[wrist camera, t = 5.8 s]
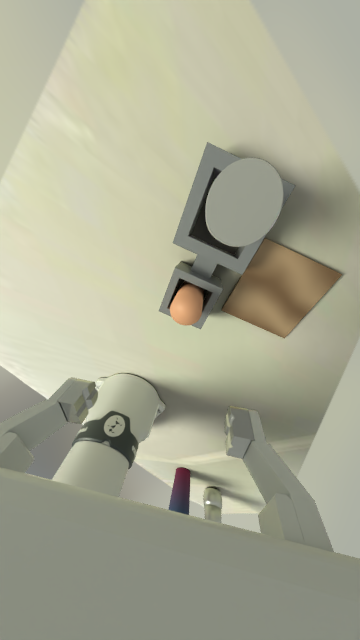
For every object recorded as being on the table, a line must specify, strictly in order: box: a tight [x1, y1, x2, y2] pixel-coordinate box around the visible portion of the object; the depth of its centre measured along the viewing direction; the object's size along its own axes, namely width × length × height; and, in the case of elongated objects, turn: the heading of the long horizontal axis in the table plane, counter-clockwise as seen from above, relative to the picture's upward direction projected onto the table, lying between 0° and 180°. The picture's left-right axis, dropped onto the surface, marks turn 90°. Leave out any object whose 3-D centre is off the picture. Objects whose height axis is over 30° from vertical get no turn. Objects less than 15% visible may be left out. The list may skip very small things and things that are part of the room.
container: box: [205, 158, 284, 247], centre depth 17 cm, size 5×5×15 cm
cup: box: [169, 468, 190, 515], centre depth 54 cm, size 7×7×15 cm
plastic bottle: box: [203, 488, 222, 523], centre depth 55 cm, size 6×7×20 cm
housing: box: [159, 142, 295, 329], centre depth 23 cm, size 20×10×5 cm, turn 158°
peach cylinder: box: [170, 281, 204, 325], centre depth 25 cm, size 4×4×8 cm
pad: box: [222, 238, 342, 338], centre depth 26 cm, size 12×12×1 cm
